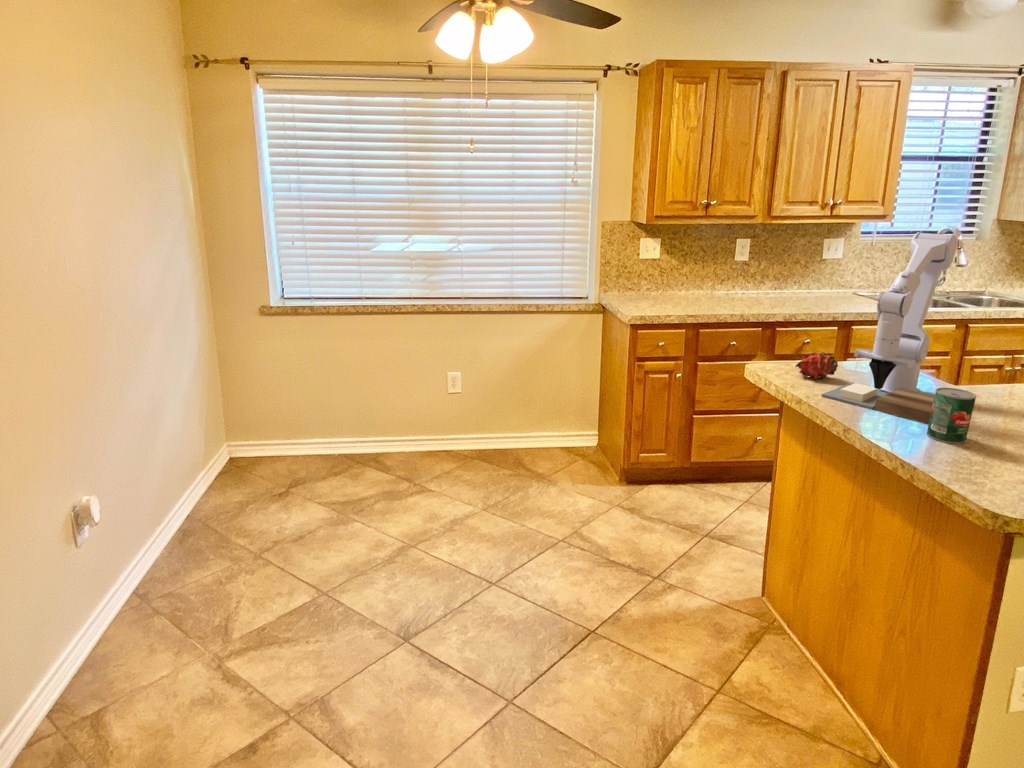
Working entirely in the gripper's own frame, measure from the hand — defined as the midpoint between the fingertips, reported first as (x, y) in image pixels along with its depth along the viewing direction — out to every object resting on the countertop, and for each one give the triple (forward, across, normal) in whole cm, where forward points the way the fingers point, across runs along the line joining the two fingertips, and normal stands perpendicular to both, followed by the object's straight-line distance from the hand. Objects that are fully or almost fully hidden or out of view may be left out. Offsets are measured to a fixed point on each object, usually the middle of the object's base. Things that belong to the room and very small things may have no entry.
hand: (878, 387), depth 179 cm
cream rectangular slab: (+2, -5, 0) cm, 5 cm away
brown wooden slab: (+4, +10, +1) cm, 10 cm away
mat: (+4, -5, +1) cm, 6 cm away
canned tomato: (+4, +22, -14) cm, 26 cm away
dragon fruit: (+4, -22, +9) cm, 24 cm away
